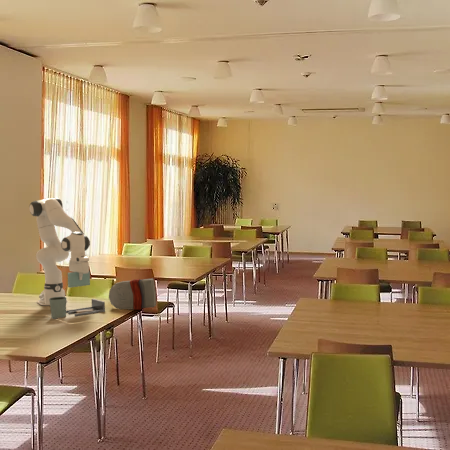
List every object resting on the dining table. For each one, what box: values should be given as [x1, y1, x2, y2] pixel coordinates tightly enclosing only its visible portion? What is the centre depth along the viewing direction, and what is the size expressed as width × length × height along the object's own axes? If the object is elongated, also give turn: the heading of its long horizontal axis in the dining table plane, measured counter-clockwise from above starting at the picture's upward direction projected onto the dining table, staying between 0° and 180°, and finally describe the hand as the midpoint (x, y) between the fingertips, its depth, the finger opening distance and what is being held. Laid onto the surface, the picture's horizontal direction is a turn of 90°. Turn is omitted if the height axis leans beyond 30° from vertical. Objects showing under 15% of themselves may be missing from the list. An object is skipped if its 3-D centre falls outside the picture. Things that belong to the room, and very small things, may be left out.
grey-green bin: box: [49, 296, 67, 320], centre depth 402 cm, size 10×10×12 cm
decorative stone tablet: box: [108, 278, 157, 311], centre depth 424 cm, size 19×6×30 cm
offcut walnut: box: [75, 309, 95, 314], centre depth 410 cm, size 4×10×2 cm, turn 113°
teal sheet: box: [67, 270, 91, 288], centre depth 415 cm, size 2×14×9 cm, turn 130°
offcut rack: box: [66, 298, 106, 317], centre depth 413 cm, size 15×20×7 cm
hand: (78, 279), depth 415 cm, fingers closed on teal sheet, 2 cm apart
